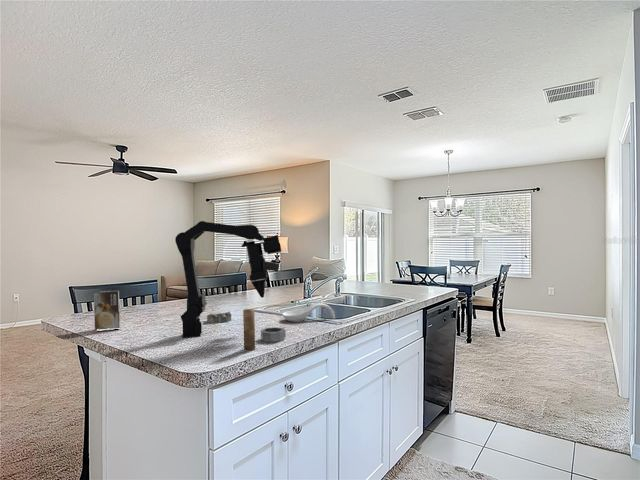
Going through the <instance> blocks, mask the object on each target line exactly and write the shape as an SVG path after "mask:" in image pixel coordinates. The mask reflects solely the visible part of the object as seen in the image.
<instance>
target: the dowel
mask: <svg viewBox="0 0 640 480" xmlns="http://www.w3.org/2000/svg"><path fill="white" fill-rule="evenodd" d="M242 314H243V317H242V318H243V319H242V321H243V351H246V352H252V351H255V350H256V327H255V325H256V322H255V321H256V319H255V309H254V308H245V309H243V312H242Z"/></svg>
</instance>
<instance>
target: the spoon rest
mask: <svg viewBox="0 0 640 480" xmlns="http://www.w3.org/2000/svg"><path fill="white" fill-rule="evenodd" d="M320 307H321V308H322V307H323V308H325V309H327V310H329V312H330V317H331V319H333V320H335V319H336V315H335V311H334V310H333V308H332V307H331V306H330V305H328V304H327V303H322V302H320V303H314V304H310V305H308V306H305V307H301V308H297V309H292V310H288V311H284V312H282V314H281V315H282V317H283V318H284V319H285V320H286V321H288V322H295V323H299V322H303V321H304V320H305V319H306V318H308V316H309V315H310V314H311V313H312V312H313V311H314V310H316V309H317V308H320Z"/></svg>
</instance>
